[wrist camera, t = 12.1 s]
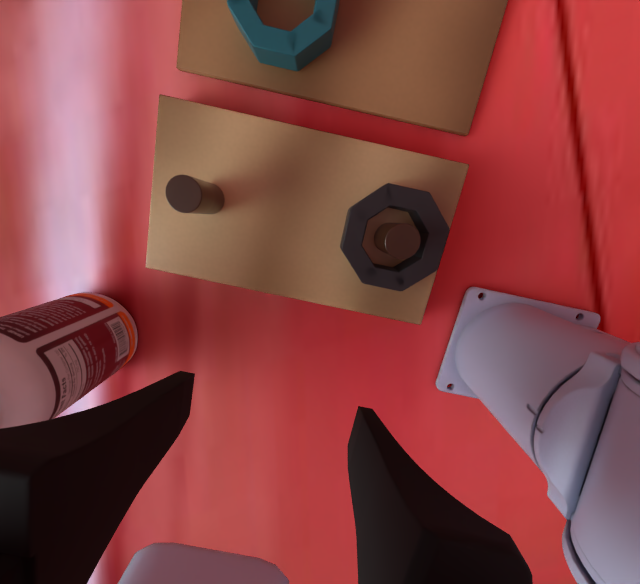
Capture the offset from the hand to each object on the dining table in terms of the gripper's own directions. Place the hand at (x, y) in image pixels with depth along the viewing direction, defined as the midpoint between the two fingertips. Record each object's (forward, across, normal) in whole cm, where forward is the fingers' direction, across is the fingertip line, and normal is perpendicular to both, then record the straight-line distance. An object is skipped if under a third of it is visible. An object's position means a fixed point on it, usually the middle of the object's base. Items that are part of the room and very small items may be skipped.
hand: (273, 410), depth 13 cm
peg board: (+9, +1, -8) cm, 12 cm away
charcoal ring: (+7, -4, -8) cm, 12 cm away
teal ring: (+9, +4, -19) cm, 21 cm away
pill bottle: (+10, +14, +3) cm, 17 cm away
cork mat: (+9, +1, -19) cm, 21 cm away
